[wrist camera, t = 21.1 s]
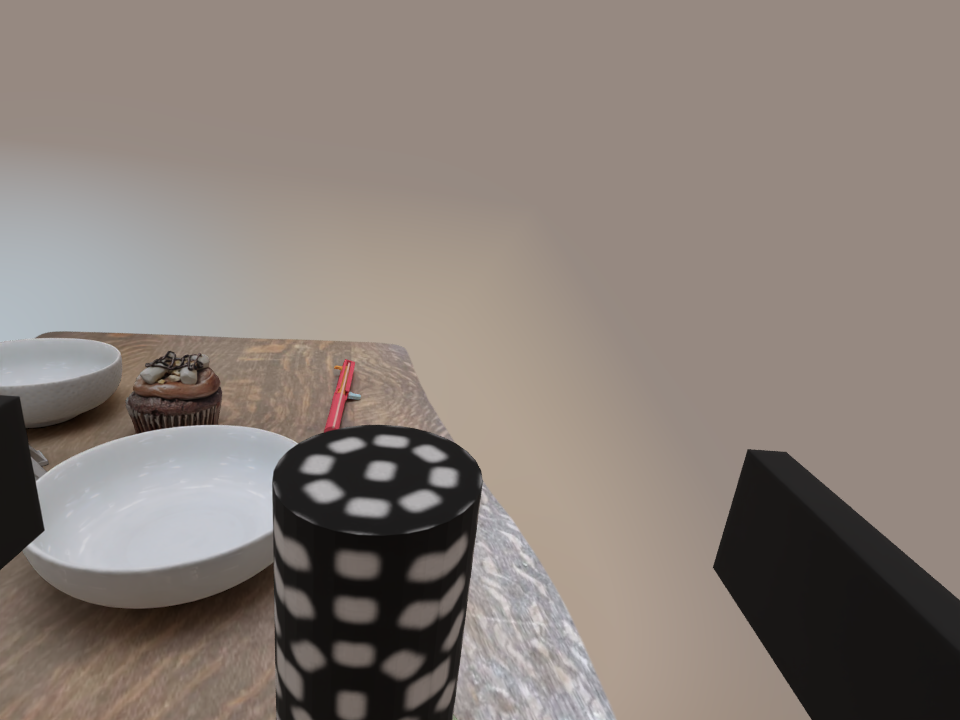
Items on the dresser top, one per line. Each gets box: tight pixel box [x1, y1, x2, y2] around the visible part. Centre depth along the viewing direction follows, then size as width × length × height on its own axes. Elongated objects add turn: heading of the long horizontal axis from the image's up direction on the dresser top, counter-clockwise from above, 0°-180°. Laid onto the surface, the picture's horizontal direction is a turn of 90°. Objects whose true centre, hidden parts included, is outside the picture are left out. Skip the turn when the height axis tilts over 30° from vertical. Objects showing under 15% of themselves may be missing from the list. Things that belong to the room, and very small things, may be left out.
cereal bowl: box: [0, 338, 122, 428], centre depth 63 cm, size 17×17×7 cm
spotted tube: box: [272, 425, 483, 720], centre depth 25 cm, size 8×8×20 cm
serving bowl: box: [22, 425, 298, 609], centre depth 45 cm, size 21×21×7 cm
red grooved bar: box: [324, 359, 361, 432], centre depth 77 cm, size 24×2×5 cm
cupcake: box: [125, 351, 222, 434], centre depth 62 cm, size 10×10×10 cm
